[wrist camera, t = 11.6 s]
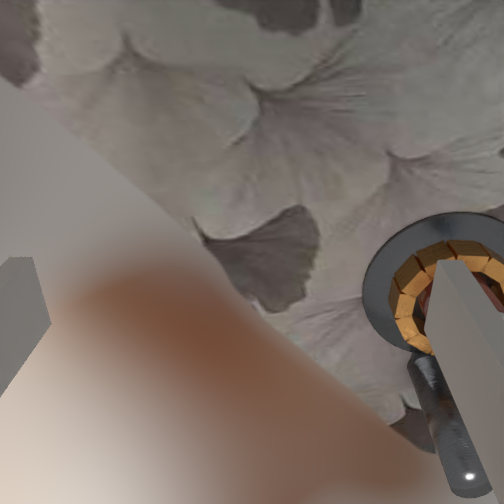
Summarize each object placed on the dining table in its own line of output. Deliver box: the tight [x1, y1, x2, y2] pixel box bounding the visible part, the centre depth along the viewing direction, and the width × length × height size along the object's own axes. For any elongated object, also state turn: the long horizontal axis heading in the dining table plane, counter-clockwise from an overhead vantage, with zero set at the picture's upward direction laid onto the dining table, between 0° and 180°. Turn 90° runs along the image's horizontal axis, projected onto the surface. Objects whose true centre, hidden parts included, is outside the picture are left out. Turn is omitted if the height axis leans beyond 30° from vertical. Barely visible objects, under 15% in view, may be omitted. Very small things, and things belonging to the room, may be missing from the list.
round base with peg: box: [362, 212, 504, 498], centre depth 40 cm, size 20×16×14 cm
